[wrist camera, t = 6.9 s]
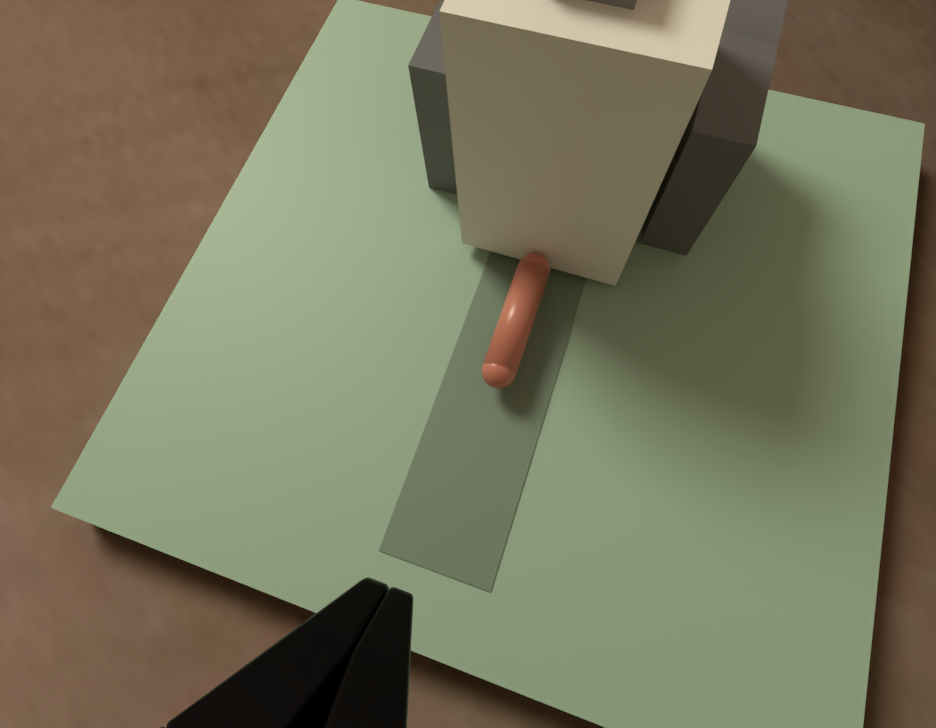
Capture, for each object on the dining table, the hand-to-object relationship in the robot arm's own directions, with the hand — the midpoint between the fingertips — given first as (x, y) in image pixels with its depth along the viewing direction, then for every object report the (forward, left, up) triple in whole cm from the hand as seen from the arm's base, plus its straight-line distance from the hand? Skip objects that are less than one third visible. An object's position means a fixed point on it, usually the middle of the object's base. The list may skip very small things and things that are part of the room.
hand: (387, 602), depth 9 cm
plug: (+5, -9, -6) cm, 12 cm away
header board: (+5, -8, -8) cm, 12 cm away
